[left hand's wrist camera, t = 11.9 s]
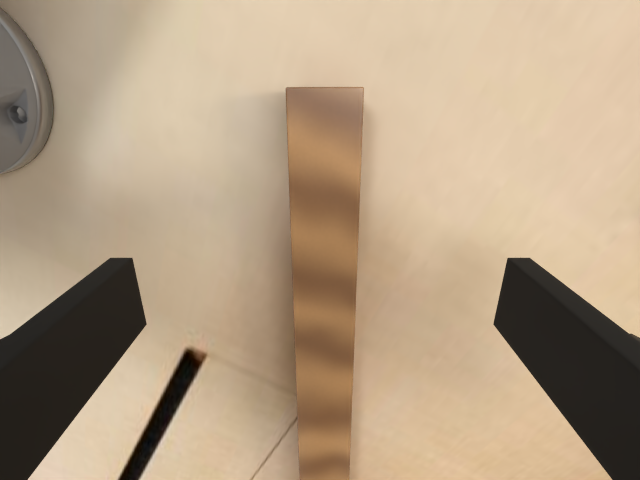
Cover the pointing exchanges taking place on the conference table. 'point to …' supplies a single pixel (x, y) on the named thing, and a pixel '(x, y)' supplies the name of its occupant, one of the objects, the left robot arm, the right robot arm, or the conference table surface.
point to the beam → (324, 268)
